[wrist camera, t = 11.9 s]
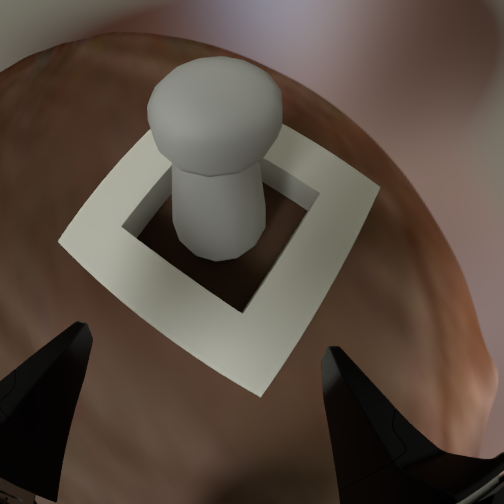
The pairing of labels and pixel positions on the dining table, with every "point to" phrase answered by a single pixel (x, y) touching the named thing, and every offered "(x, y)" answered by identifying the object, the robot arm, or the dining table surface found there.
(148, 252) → the grey block
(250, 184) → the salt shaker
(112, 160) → the dining table surface
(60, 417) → the robot arm
